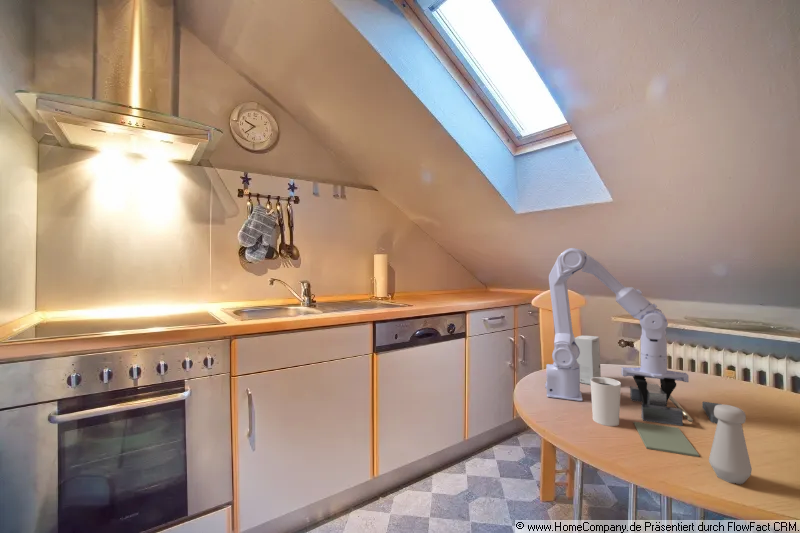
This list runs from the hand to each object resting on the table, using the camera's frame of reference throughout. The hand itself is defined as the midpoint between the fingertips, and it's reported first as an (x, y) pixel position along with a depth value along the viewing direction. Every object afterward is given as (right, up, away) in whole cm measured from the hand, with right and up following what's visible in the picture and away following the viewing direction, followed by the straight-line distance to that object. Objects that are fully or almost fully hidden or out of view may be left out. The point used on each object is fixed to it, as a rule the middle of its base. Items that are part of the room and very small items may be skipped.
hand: (653, 405), depth 95 cm
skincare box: (-5, -2, +25) cm, 25 cm away
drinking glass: (-16, -2, -6) cm, 17 cm away
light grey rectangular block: (0, -1, 0) cm, 1 cm away
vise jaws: (0, -2, 0) cm, 2 cm away
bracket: (+14, -2, -4) cm, 14 cm away
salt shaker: (-7, -2, -30) cm, 30 cm away
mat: (-9, -2, -15) cm, 17 cm away
